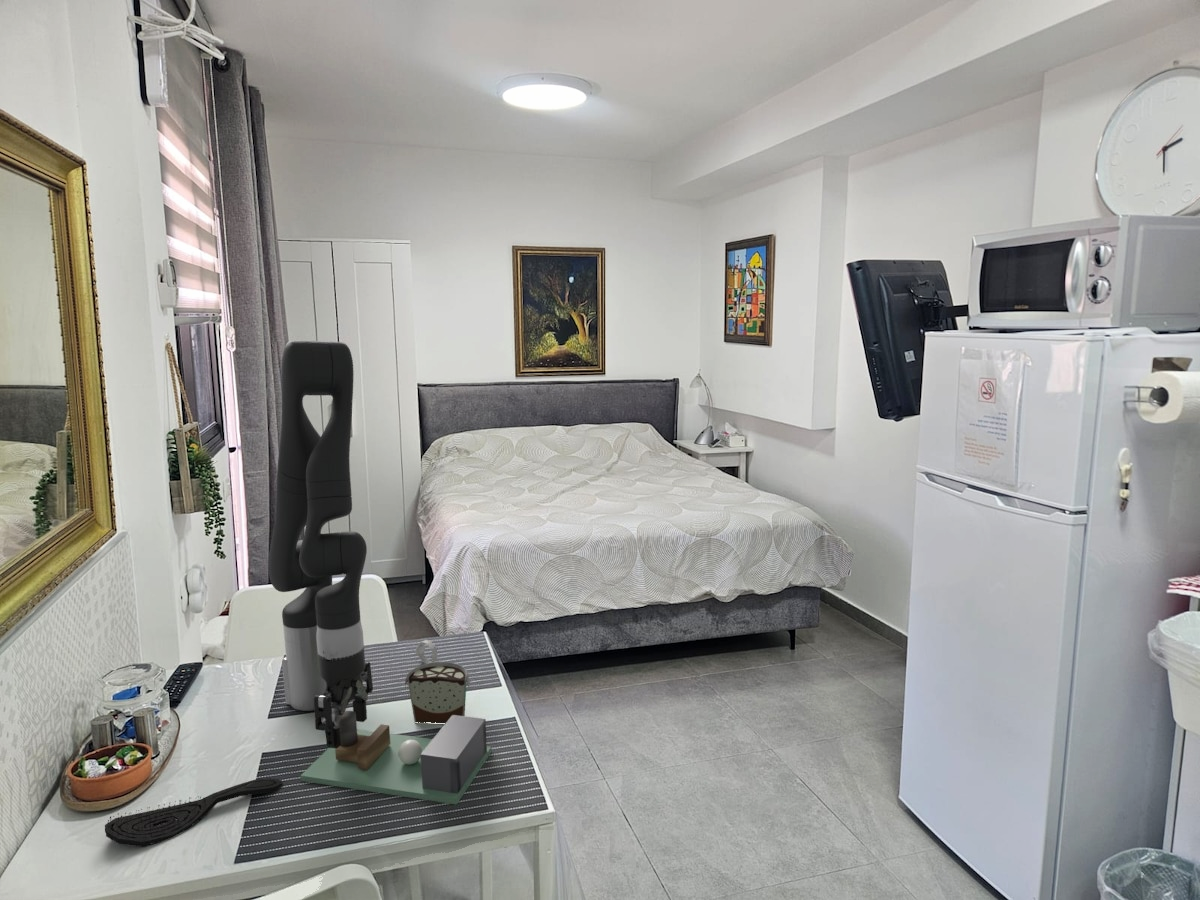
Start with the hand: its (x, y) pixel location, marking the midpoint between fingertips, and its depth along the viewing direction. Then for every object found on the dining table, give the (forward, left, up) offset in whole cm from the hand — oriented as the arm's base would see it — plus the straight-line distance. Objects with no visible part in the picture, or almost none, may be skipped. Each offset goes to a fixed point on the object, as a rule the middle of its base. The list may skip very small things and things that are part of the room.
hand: (347, 733), depth 136 cm
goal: (+20, 0, -5) cm, 21 cm away
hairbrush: (-15, -18, -6) cm, 24 cm away
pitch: (+9, 0, -5) cm, 11 cm away
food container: (+10, +17, -5) cm, 20 cm away
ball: (+12, 0, -2) cm, 12 cm away
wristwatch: (-3, +37, -5) cm, 37 cm away
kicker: (+2, 0, -4) cm, 4 cm away
